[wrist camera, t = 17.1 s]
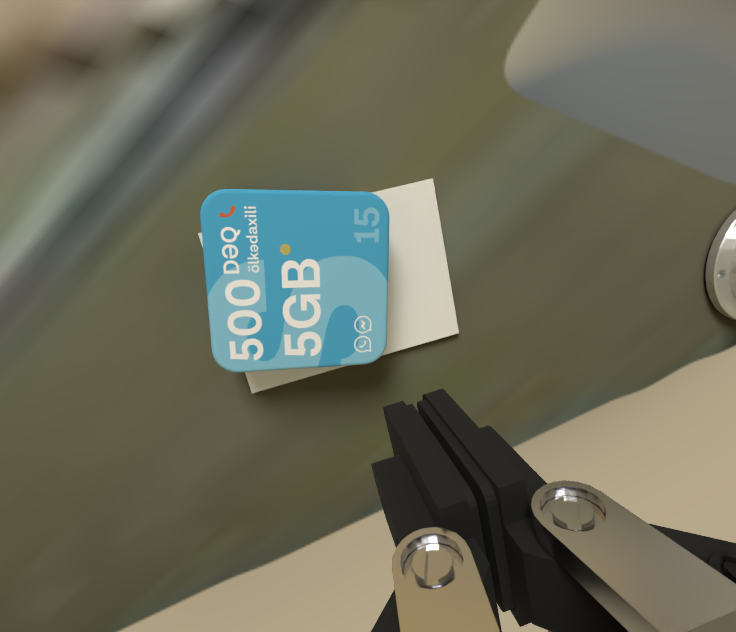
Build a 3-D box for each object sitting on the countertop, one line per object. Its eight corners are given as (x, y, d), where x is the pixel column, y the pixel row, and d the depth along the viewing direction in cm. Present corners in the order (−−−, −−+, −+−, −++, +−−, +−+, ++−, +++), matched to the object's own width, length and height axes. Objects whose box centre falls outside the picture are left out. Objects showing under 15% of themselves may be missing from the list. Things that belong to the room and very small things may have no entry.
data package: (387, 363, 30) (213, 375, 28) (373, 344, 34) (222, 353, 32) (390, 192, 27) (196, 188, 25) (375, 194, 31) (209, 191, 29)
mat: (430, 179, 32) (432, 178, 32) (456, 331, 36) (458, 333, 36) (199, 233, 30) (198, 233, 29) (252, 390, 34) (252, 393, 33)
